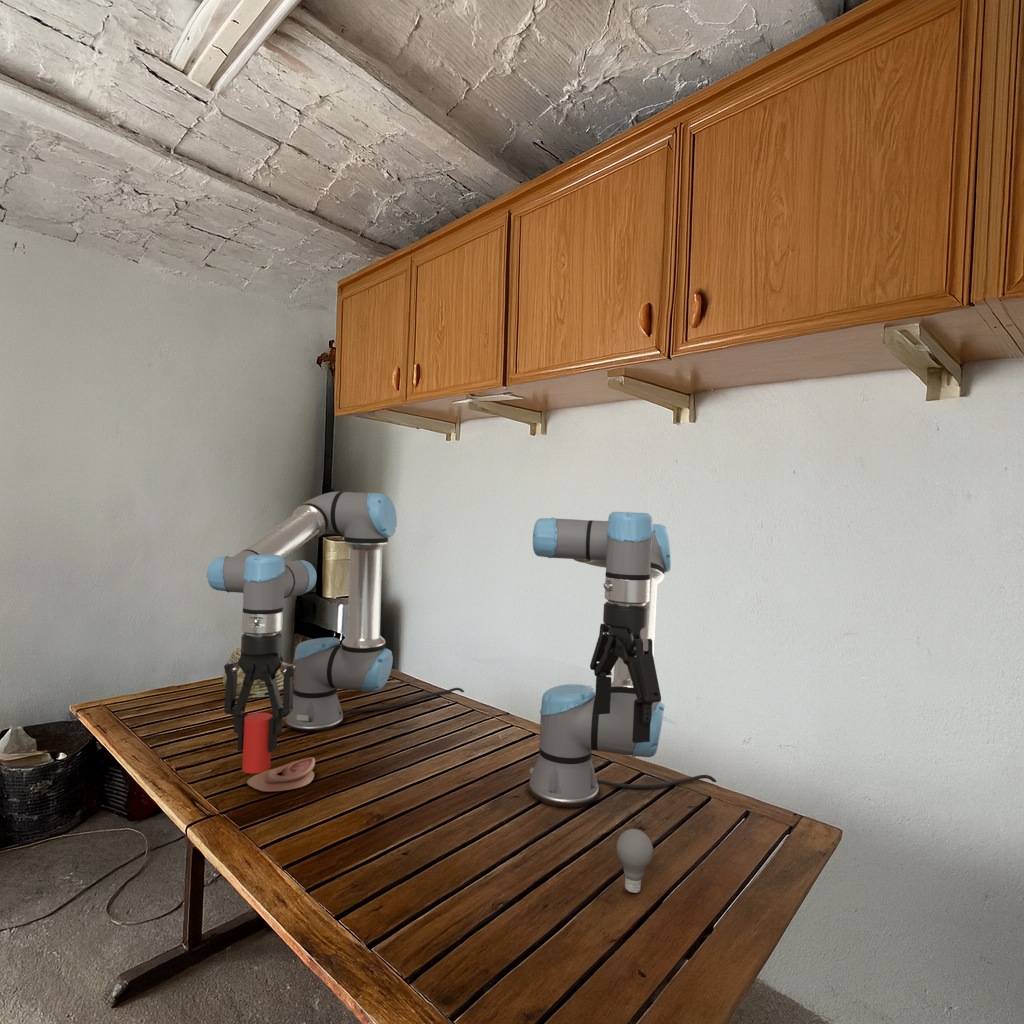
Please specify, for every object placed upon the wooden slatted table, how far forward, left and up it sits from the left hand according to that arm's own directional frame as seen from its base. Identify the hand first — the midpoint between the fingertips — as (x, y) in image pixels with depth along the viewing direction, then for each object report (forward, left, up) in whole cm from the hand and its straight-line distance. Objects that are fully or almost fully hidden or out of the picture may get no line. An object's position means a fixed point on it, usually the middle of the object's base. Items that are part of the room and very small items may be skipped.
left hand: (257, 748), depth 126 cm
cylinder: (0, 0, -4) cm, 4 cm away
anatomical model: (-11, -8, -13) cm, 19 cm away
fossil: (-38, -68, -13) cm, 78 cm away
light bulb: (-28, +69, -13) cm, 76 cm away
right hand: (-29, +65, +14) cm, 72 cm away
